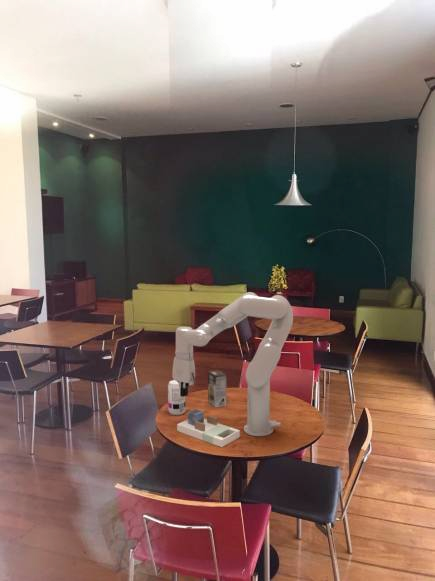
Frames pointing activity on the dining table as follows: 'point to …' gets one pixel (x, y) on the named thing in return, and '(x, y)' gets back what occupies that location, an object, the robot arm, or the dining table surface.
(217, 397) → the coffee box
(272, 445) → the dining table surface
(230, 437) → the board
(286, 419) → the dining table surface
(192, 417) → the block
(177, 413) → the supplement can
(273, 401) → the dining table surface
